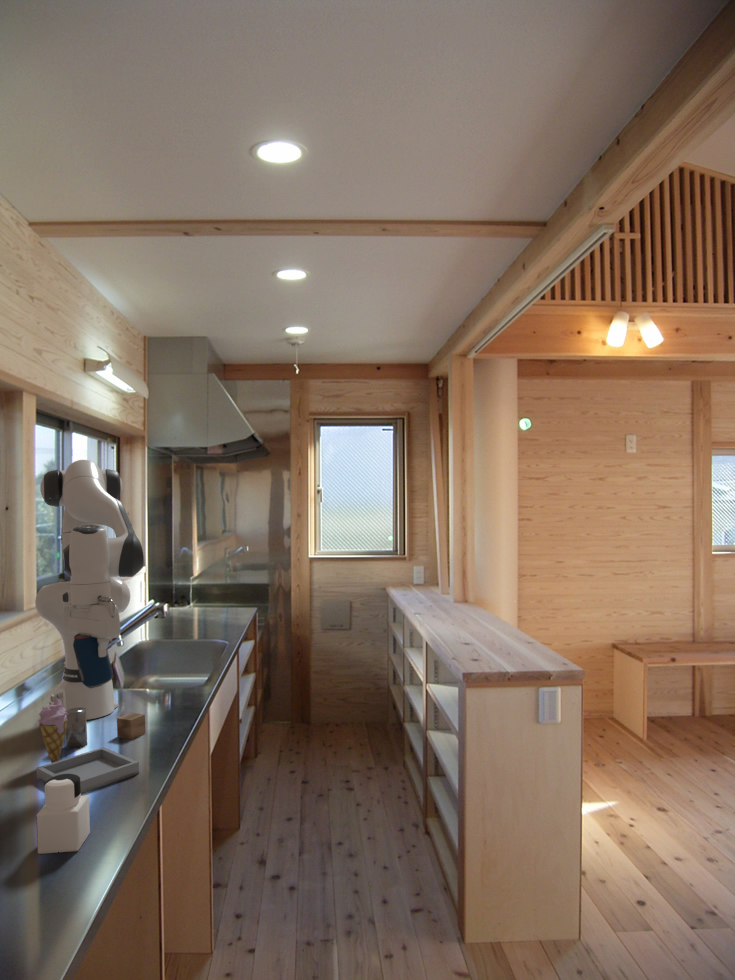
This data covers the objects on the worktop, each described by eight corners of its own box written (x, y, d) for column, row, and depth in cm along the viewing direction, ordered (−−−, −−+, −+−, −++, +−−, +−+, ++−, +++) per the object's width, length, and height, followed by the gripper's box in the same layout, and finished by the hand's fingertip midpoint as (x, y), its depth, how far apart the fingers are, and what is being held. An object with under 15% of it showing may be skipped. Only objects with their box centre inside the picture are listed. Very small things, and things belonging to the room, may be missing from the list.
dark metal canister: (62, 746, 183) (61, 711, 183) (81, 741, 186) (80, 706, 186) (71, 750, 179) (70, 714, 179) (90, 745, 183) (89, 709, 183)
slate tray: (36, 779, 162) (36, 767, 162) (104, 757, 173) (103, 747, 173) (70, 797, 151) (69, 785, 151) (138, 773, 163) (138, 762, 163)
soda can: (120, 676, 169) (108, 627, 167) (98, 688, 163) (86, 638, 161) (98, 676, 172) (87, 628, 170) (76, 688, 166) (64, 639, 164)
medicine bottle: (51, 835, 134) (49, 771, 134) (90, 832, 134) (88, 768, 135) (37, 855, 127) (34, 787, 127) (78, 851, 127) (76, 784, 127)
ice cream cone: (76, 760, 173) (74, 697, 173) (57, 770, 167) (55, 705, 167) (54, 757, 175) (52, 696, 175) (34, 767, 169) (32, 703, 169)
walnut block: (117, 737, 189) (116, 718, 189) (131, 731, 193) (131, 712, 193) (131, 739, 186) (130, 720, 186) (145, 733, 191) (144, 714, 191)
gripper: (126, 595, 163) (128, 657, 162) (83, 591, 176) (85, 648, 176) (100, 599, 158) (102, 662, 157) (57, 594, 171) (59, 653, 171)
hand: (92, 654), depth 167 cm, fingers closed on soda can, 7 cm apart
